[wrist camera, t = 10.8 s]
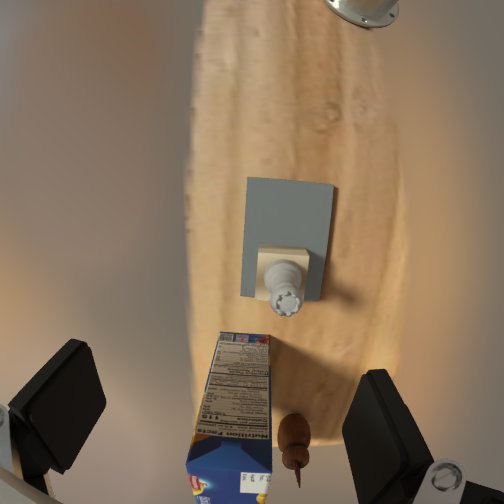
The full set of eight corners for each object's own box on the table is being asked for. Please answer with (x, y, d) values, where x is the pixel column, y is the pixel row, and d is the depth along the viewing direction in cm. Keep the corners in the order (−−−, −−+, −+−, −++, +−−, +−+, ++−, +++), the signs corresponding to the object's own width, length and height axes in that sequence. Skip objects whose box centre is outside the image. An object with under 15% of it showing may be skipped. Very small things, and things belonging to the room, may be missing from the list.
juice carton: (264, 390, 45) (262, 513, 22) (220, 387, 45) (198, 508, 22) (269, 334, 42) (272, 471, 19) (220, 330, 42) (185, 464, 19)
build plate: (247, 177, 36) (247, 177, 35) (332, 184, 36) (333, 184, 35) (240, 293, 40) (240, 296, 39) (317, 298, 40) (319, 301, 39)
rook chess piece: (301, 257, 33) (312, 282, 26) (299, 293, 34) (309, 325, 27) (263, 257, 33) (263, 282, 26) (263, 292, 35) (263, 325, 27)
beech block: (258, 244, 37) (258, 252, 33) (304, 247, 37) (309, 256, 33) (255, 287, 39) (254, 299, 35) (299, 290, 39) (303, 302, 35)
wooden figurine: (303, 430, 48) (310, 490, 33) (274, 430, 48) (276, 491, 33) (310, 409, 46) (321, 473, 32) (280, 408, 46) (283, 474, 32)
